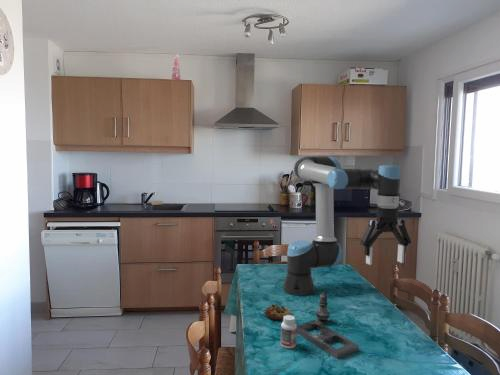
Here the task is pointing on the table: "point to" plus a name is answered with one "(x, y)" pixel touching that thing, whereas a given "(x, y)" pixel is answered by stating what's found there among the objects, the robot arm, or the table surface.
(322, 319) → the grey chess piece
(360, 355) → the table surface
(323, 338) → the grey rectangular frame
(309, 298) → the table surface
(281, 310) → the bread roll
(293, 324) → the pill bottle
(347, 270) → the table surface
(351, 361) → the table surface
